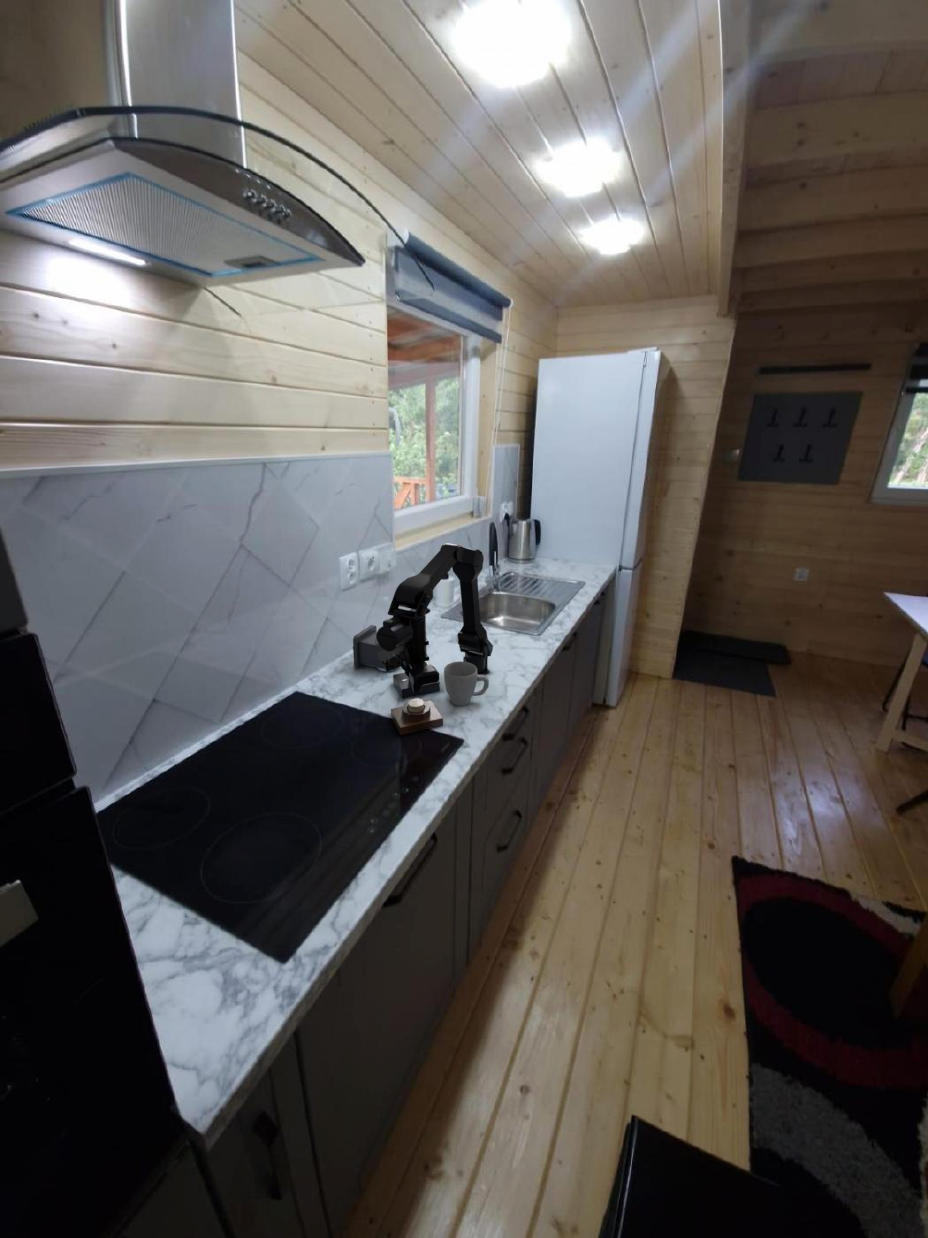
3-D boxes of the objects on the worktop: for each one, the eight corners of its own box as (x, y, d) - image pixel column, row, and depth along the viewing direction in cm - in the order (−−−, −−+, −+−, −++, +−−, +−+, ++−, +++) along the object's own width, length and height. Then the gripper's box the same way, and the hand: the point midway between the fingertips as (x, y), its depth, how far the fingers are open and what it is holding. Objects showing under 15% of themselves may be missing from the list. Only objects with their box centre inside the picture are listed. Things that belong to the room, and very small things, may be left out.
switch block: (431, 707, 131) (431, 694, 130) (443, 725, 124) (443, 711, 122) (390, 716, 127) (390, 702, 126) (400, 735, 120) (399, 721, 118)
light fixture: (388, 679, 146) (388, 646, 142) (351, 668, 151) (350, 636, 147) (407, 663, 156) (407, 632, 151) (371, 653, 160) (370, 623, 156)
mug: (441, 707, 131) (441, 675, 127) (447, 690, 139) (446, 660, 136) (486, 711, 130) (487, 678, 126) (489, 694, 138) (490, 663, 134)
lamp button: (421, 703, 126) (421, 697, 126) (426, 711, 123) (426, 705, 122) (406, 706, 125) (406, 700, 124) (410, 714, 122) (410, 708, 121)
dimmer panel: (429, 676, 147) (429, 667, 145) (439, 691, 139) (439, 681, 138) (393, 683, 143) (392, 674, 141) (401, 699, 135) (401, 688, 134)
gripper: (371, 625, 121) (374, 681, 127) (391, 657, 106) (394, 719, 111) (414, 619, 126) (416, 673, 131) (439, 648, 110) (440, 709, 116)
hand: (415, 692), depth 122 cm, fingers closed
